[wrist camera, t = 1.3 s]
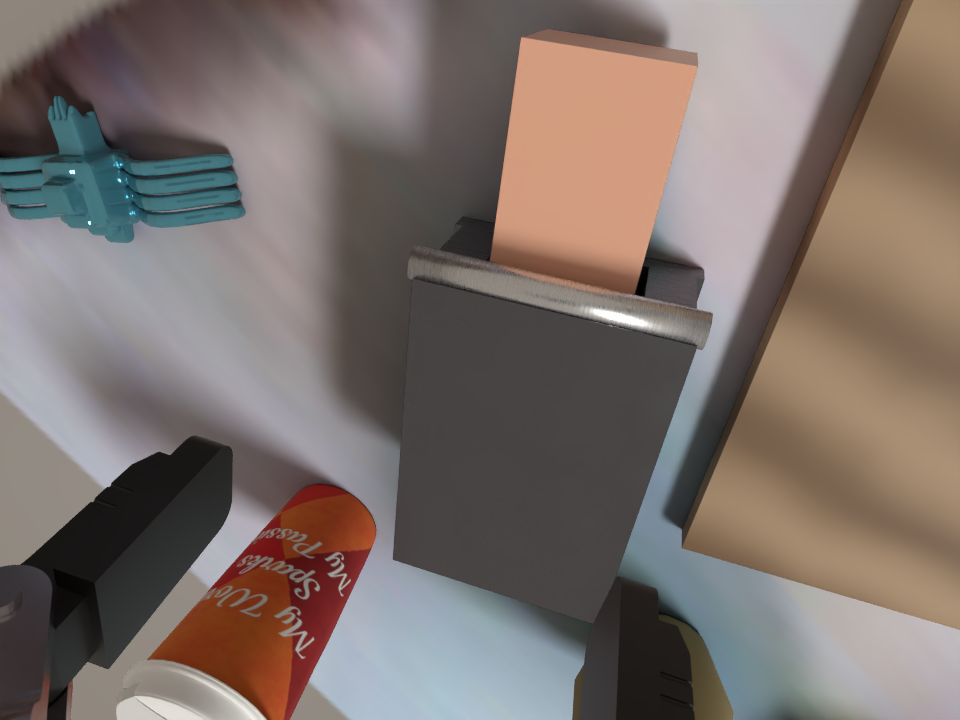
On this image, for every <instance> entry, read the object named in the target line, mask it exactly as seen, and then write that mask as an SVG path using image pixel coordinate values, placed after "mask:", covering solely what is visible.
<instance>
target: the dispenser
mask: <svg viewBox="0 0 960 720" xmlns="http://www.w3.org/2000/svg"><path fill="white" fill-rule="evenodd" d="M494 229H495V224H493V223H489V222H484V221H480V220H475V219H471V218H466V217H462V218H461V219H460V220H459V221H458V222H457V223H456V224H455V233H454V235H453V236H452V237H451V238H450V239H449V241H448V242H447V243H446V244H445V245H444V246H443V247H442V248H441V249H440V250H437V249H433V248H428V247H424V246H420V245H416V246H415V247H414V248H413V250H412V252H411V254H410V257H409V261H408V268H407V275H408V278H409V280H412V292H411V307H410V321H409V335H408V350H407V364H406V378H405V393H404V407H403V421H402V436H401V450H400V464H399V479H398V493H397V507H396V522H395V536H394V550H393V560H396V561H399V562H402V563H405V564H408V565H411V566H414V567H417V568H421V569H424V570H427V571H430V572H433V573H436V574H439V575H442V576H445V577H448V578H452V579H455V580H458V581H461V582H464V583H467V584H470V585H473V586H476V587H479V588H483V589H486V590H489V591H492V592H495V593H498V594H501V595H504V596H507V597H511V598H514V599H517V600H520V601H523V602H526V603H529V604H532V605H535V606H538V607H542V608H545V609H548V610H551V611H554V612H557V613H560V614H563V615H566V616H569V617H573V618H576V619H579V620H582V621H585V622H588V623H591V624H593V623H594V621H595V619H596V617H597V615H598V613H599V611H600V609H601V607H602V605H603V603H604V601H605V599H606V597H607V595H608V593H609V591H610V589H611V587H612V585H613V583H614V580H615V577H616V575H617V572H618V569H619V566H620V563H621V560H622V558H623V555H624V552H625V549H626V546H627V544H628V541H629V538H630V535H631V532H632V529H633V527H634V524H635V521H636V518H637V515H638V513H639V510H640V507H641V504H642V501H643V498H644V496H645V493H646V490H647V487H648V484H649V482H650V479H651V476H652V473H653V470H654V467H655V465H656V462H657V459H658V456H659V453H660V451H661V448H662V445H663V442H664V439H665V436H666V434H667V431H668V428H669V425H670V422H671V420H672V417H673V414H674V411H675V408H676V405H677V403H678V400H679V397H680V394H681V391H682V389H683V386H684V383H685V380H686V377H687V374H688V372H689V369H690V366H691V363H692V360H693V358H694V355H695V352H696V349H700V350H702V349H703V348H704V346H705V344H706V341H707V338H708V335H709V332H710V328H711V324H712V317H713V314H712V313H711V312H707V311H703V310H698V309H697V300H698V297H699V294H700V291H701V288H702V285H703V282H704V269H699V268H695V267H690V266H686V265H681V264H676V263H672V262H667V261H663V260H658V259H654V258H649V257H645V259H644V262H643V266H642V269H641V273H640V277H639V280H638V284H637V287H636V291H635V295H633V294H629V293H624V292H620V291H616V290H611V289H607V288H603V287H598V286H594V285H589V284H585V283H581V282H576V281H572V280H568V279H563V278H559V277H555V276H550V275H546V274H542V273H537V272H533V271H528V270H524V269H520V268H515V267H511V266H507V265H502V264H498V263H494V262H490V258H491V251H492V244H493V236H494Z"/></svg>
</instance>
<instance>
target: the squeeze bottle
mask: <svg viewBox="0 0 960 720" xmlns="http://www.w3.org/2000/svg"><path fill="white" fill-rule="evenodd" d="M659 620H661V621H664V622H667V623H670V624H673V625H676V626H678V628H679V630H680V632H681V635H682V637H683V639H684V641H685V643H686V646H687V648H688V650H689V652H690V657H691V671H692V684H691V687H692V688H693V700H694V706H693V711H694V714H695V720H733V710H732V707H731V705H730V702H729V700H728V698H727V695H726V693H725V690H724V688H723V685H722V683H721V680H720V678H719V675H718V673H717V670H716V668H715V665H714V663H713V660H712V658H711V656H710V653H709V651H708V649H707V647H706V645H705V643H704V641H703V638H702V637H701V636H700V635H699V634H698V633H697V632H695V631H694V630H693V629H692V628H691V627H690V626H688V625H687V624H685V623H683V622H681V621H678V620H676V619H674V618H672V617H669V616H667V615H661V614H659ZM583 673H584V665H583V667H582V669H581V670H580V672H579V674H578V675H577V677H576V679H575V685H574V701H573V718H572V720H579V717H580V706H581V695H582V684H583Z"/></svg>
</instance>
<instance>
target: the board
mask: <svg viewBox="0 0 960 720" xmlns="http://www.w3.org/2000/svg"><path fill="white" fill-rule="evenodd" d="M682 548H684V549H687V550H690V551H694V552H697V553H701V554H704V555H707V556H711V557H714V558H718V559H721V560H724V561H728V562H731V563H735V564H738V565H741V566H745V567H748V568H752V569H755V570H758V571H762V572H765V573H769V574H772V575H775V576H779V577H782V578H786V579H789V580H792V581H796V582H799V583H803V584H806V585H809V586H813V587H816V588H820V589H823V590H826V591H830V592H833V593H837V594H840V595H843V596H847V597H850V598H854V599H857V600H860V601H864V602H867V603H871V604H874V605H877V606H881V607H884V608H888V609H891V610H894V611H898V612H901V613H904V614H908V615H911V616H915V617H918V618H921V619H925V620H928V621H932V622H935V623H938V624H942V625H945V626H949V627H952V628H955V629H959V630H960V0H902V1H901V4H900V6H899V8H898V11H897V13H896V16H895V18H894V20H893V23H892V25H891V28H890V30H889V33H888V35H887V37H886V40H885V42H884V45H883V47H882V49H881V52H880V54H879V57H878V59H877V61H876V64H875V66H874V69H873V71H872V74H871V76H870V78H869V81H868V83H867V86H866V88H865V90H864V93H863V95H862V98H861V100H860V102H859V105H858V107H857V110H856V112H855V115H854V117H853V119H852V122H851V124H850V127H849V129H848V131H847V134H846V136H845V139H844V141H843V143H842V146H841V148H840V151H839V153H838V156H837V158H836V160H835V163H834V165H833V168H832V170H831V172H830V175H829V177H828V180H827V182H826V184H825V187H824V189H823V192H822V194H821V197H820V199H819V201H818V204H817V206H816V209H815V211H814V213H813V216H812V218H811V221H810V223H809V225H808V228H807V230H806V233H805V235H804V237H803V240H802V242H801V245H800V247H799V250H798V252H797V254H796V257H795V259H794V262H793V264H792V266H791V269H790V271H789V274H788V276H787V278H786V281H785V283H784V286H783V288H782V291H781V293H780V295H779V298H778V300H777V303H776V305H775V307H774V310H773V312H772V315H771V317H770V319H769V322H768V324H767V327H766V329H765V332H764V334H763V336H762V339H761V341H760V344H759V346H758V348H757V351H756V353H755V356H754V358H753V360H752V363H751V365H750V368H749V370H748V373H747V375H746V377H745V380H744V382H743V385H742V387H741V389H740V392H739V394H738V397H737V399H736V401H735V404H734V406H733V409H732V411H731V414H730V416H729V418H728V421H727V423H726V426H725V428H724V430H723V433H722V435H721V438H720V440H719V442H718V445H717V447H716V450H715V452H714V455H713V457H712V459H711V462H710V464H709V467H708V469H707V471H706V474H705V476H704V479H703V481H702V483H701V486H700V488H699V491H698V493H697V496H696V498H695V500H694V503H693V505H692V508H691V510H690V512H689V515H688V517H687V520H686V522H685V524H684V527H683V529H682Z"/></svg>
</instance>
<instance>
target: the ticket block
mask: <svg viewBox="0 0 960 720" xmlns="http://www.w3.org/2000/svg"><path fill="white" fill-rule="evenodd" d="M697 68H698V57H697V53H694V52H688V51H682V50H675V49H669V48H663V47H657V46H651V45H644V44H638V43H632V42H626V41H620V40H613V39H607V38H601V37H595V36H589V35H582V34H576V33H570V32H564V31H558V30H551V29H545V30H542V31H539V32H536V33H533V34H530V35H527V36H524V37H521V42H520V49H519V57H518V64H517V71H516V78H515V85H514V93H513V100H512V107H511V114H510V121H509V129H508V136H507V143H506V150H505V157H504V164H503V172H502V179H501V186H500V193H499V200H498V208H497V215H496V222H495V229H494V236H493V244H492V251H491V258H490V262H494V263H498V264H502V265H507V266H511V267H515V268H520V269H524V270H528V271H533V272H537V273H542V274H546V275H550V276H555V277H559V278H563V279H568V280H572V281H576V282H581V283H585V284H589V285H594V286H598V287H603V288H607V289H611V290H616V291H620V292H624V293H629V294H633V295H635V291H636V287H637V284H638V280H639V277H640V273H641V269H642V266H643V262H644V259H645V255H646V251H647V248H648V244H649V241H650V237H651V234H652V230H653V226H654V223H655V219H656V216H657V212H658V208H659V205H660V201H661V198H662V194H663V190H664V187H665V183H666V180H667V176H668V173H669V169H670V165H671V162H672V158H673V155H674V151H675V147H676V144H677V140H678V137H679V133H680V129H681V126H682V122H683V119H684V115H685V112H686V108H687V104H688V101H689V97H690V94H691V90H692V86H693V83H694V79H695V76H696V72H697Z"/></svg>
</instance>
